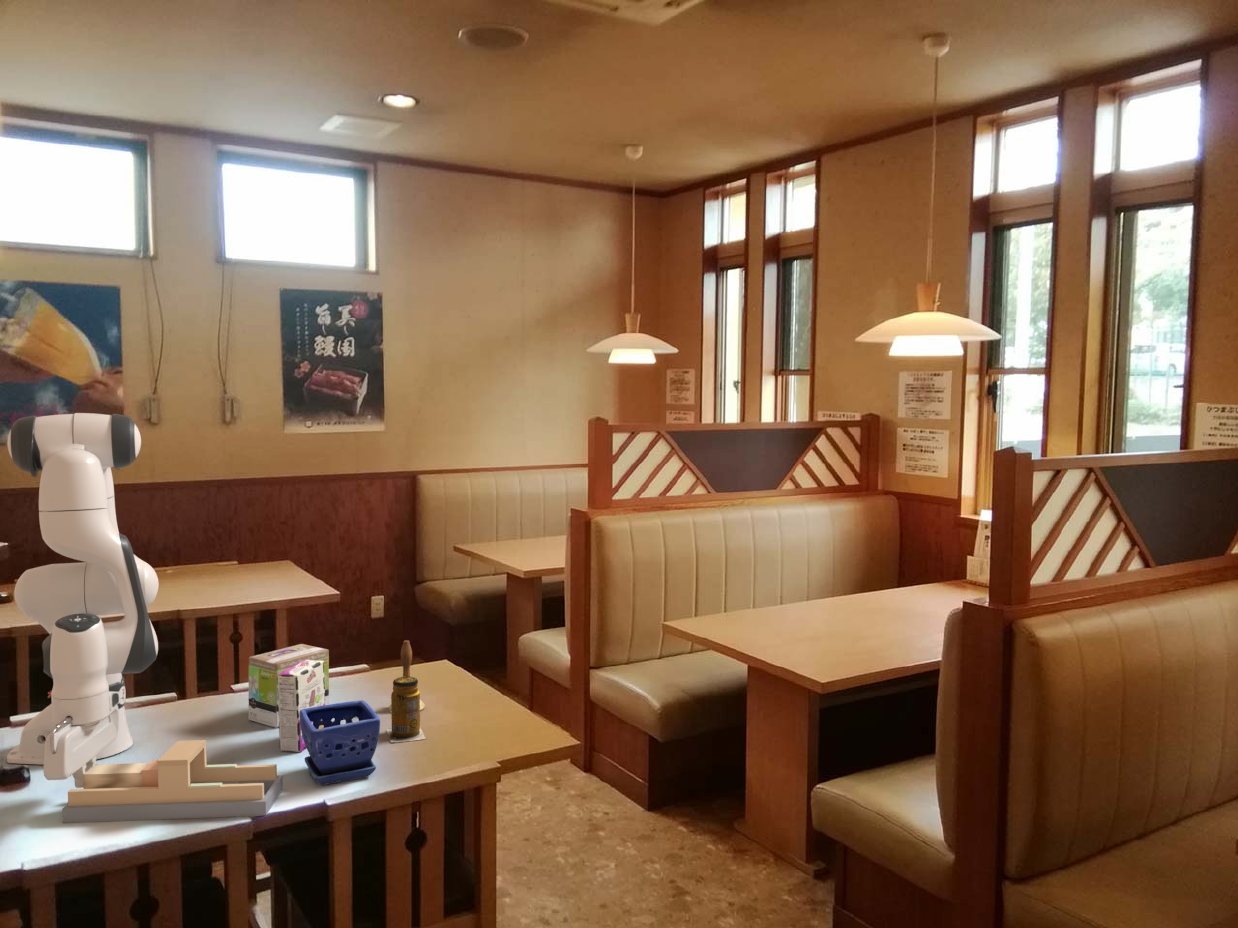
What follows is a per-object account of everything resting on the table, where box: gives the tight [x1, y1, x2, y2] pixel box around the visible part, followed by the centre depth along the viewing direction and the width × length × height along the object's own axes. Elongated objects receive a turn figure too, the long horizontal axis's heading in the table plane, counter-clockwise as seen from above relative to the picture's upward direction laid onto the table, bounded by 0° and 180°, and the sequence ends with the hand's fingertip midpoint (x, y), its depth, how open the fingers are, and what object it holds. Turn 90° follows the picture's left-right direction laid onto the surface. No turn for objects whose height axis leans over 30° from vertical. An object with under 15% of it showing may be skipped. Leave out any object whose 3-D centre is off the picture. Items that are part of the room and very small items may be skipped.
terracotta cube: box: [142, 758, 160, 787], centre depth 170 cm, size 5×5×5 cm
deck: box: [61, 739, 284, 824], centre depth 170 cm, size 34×12×10 cm, turn 95°
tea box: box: [248, 643, 330, 729], centre depth 218 cm, size 15×10×15 cm
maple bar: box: [82, 762, 150, 789], centre depth 169 cm, size 10×4×4 cm, turn 95°
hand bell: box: [388, 639, 426, 712], centre depth 223 cm, size 8×8×16 cm
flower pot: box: [299, 699, 381, 785], centre depth 185 cm, size 13×13×12 cm
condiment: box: [386, 676, 427, 743], centre depth 205 cm, size 7×8×12 cm
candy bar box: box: [277, 660, 325, 753], centre depth 200 cm, size 11×5×16 cm, turn 168°
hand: (84, 784), depth 168 cm, fingers closed, pressing on maple bar
